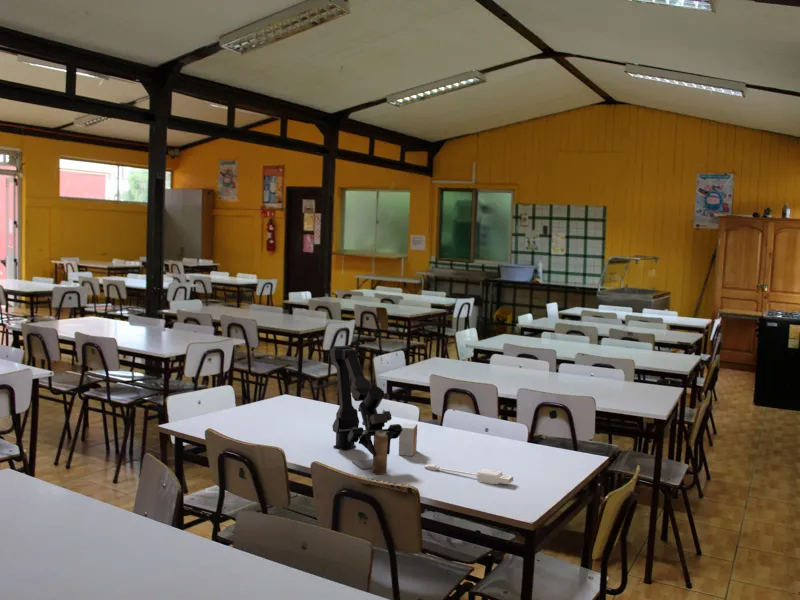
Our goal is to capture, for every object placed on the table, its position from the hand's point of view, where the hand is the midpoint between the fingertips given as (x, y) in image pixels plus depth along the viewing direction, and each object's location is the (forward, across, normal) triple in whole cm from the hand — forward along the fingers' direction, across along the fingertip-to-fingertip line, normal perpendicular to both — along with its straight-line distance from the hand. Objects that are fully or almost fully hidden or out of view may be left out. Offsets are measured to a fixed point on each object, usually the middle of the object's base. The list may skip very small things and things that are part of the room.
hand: (381, 454), depth 248 cm
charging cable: (+14, +27, -4) cm, 31 cm away
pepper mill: (+4, 0, +6) cm, 7 cm away
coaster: (-3, 0, +12) cm, 13 cm away
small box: (-9, +20, +19) cm, 29 cm away
